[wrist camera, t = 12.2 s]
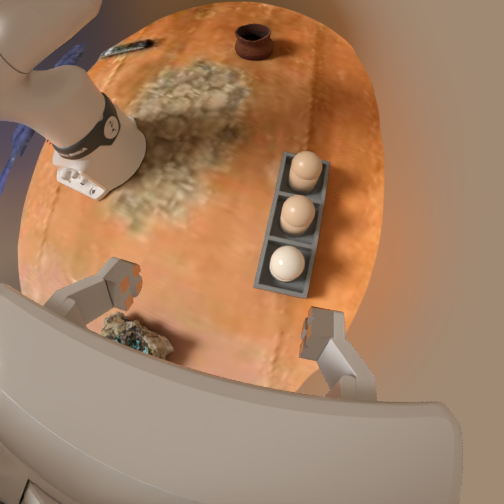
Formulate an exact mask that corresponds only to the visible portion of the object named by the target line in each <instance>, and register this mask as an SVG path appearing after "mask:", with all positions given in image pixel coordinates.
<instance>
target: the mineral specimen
mask: <svg viewBox="0 0 504 504" xmlns="http://www.w3.org/2000/svg"><path fill="white" fill-rule="evenodd" d="M129 321H130V320H129V318H128V317H126V316H125V315H124V314H123V313H120V312H116V313H115V314H113V315H111V316H110V317H107V318H105V320H104V328H103V329H102V333H101V335H102V336H104V337H106V338H109V339H111V340H113V341H116V342H118V343H121V344H123V345H126V346H128V347H131V348H133V349H136V350H138V351H141V352H144V353H146V354H149V355H152V356H155V357H158V358H160V359H163V360H166V355H169V354H170V353H172V352H173V351H174V348H173V347H172V345H171V344H170V342H169V340H168V339H167V338H166V336H161V335H159V334H157V333H156V332H154V331H150V330H149V329H147V328H146V327H145V326H142V325H141V324H140V322H139V321H138V320H134V321H130V322H129Z"/></svg>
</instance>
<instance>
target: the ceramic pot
mask: <svg viewBox="0 0 504 504" xmlns="http://www.w3.org/2000/svg"><path fill="white" fill-rule="evenodd" d="M270 34H271V29H270V28H269V27H267V26H266V25H261V24H248V25H244V26H241V27H238V28H237V29H236V30H235V35H236V37H237V41H236V44H235V50H236V53H237V54H238V55H239V56H240V57H241V58H243V59H247V60H262V59H265V58H267V57H268V56H270V54H271V53H272V50H273V48H274V45H273V41H272V40H271V39H270Z"/></svg>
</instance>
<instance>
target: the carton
mask: <svg viewBox="0 0 504 504" xmlns="http://www.w3.org/2000/svg"><path fill="white" fill-rule="evenodd" d="M329 167H330V162H329V161H324V160H320V158H319V157H318V156H317V155H316V154H315V153H313V152H310V151H302V152H300V153H298V154H294V153H289V152H283V157H282V162H281V166H280V171H279V175H278V180H277V184H276V189H275V193H274V198H273V202H272V207H271V211H270V215H269V220H268V224H267V229H266V233H265V238H264V242H263V246H262V251H261V255H260V259H259V264H258V268H257V272H256V277H255V281H254V285H253V287H254V288H257V289H262V290H266V291H270V292H275V293H280V294H284V295H289V296H293V297H298V298H303V299H306V298H307V294H308V289H309V284H310V279H311V275H312V270H313V265H314V259H315V254H316V249H317V243H318V238H319V232H320V227H321V221H322V215H323V208H324V202H325V196H326V189H327V182H328V175H329ZM282 246H293V247H295V248H297V249H298V250H300V252H301V253H302V254H303V256H304V260H305V266H304V270H303V272H302V273H301V274H300V275H299V276H298V277H297V278H295V279H294V280H292V281H290V282H287V283H281V282H278V281H276V280H275V279H274V278H273V277H272V276H271V274H270V270H269V266H270V260H271V256H272V254H273V253H274V252H275V251H276V250H277V249H278V248H280V247H282Z"/></svg>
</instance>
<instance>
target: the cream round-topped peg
mask: <svg viewBox="0 0 504 504" xmlns="http://www.w3.org/2000/svg"><path fill="white" fill-rule="evenodd" d="M304 266H305V260H304V256H303V254H302V253H301V252H300V250H298V249H297V248H295V247H293V246H282V247H280V248H278V249H277V250H276V251H275V252H274V253H273V254H272V256H271V260H270V266H269V270H270V274H271V276H272V277H273V278H274V279H275V280H276V281H278V282H281V283H287V282H290V281H292V280H294V279H295V278H297V277H298V276H299V275H300V274H301V273H302V272H303V270H304Z"/></svg>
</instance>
